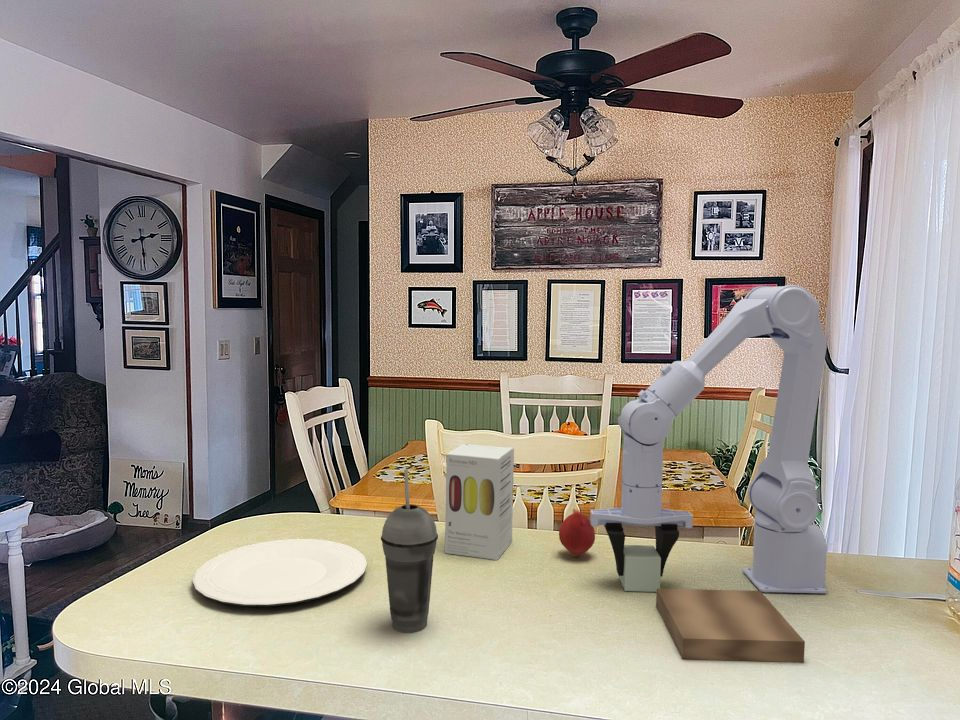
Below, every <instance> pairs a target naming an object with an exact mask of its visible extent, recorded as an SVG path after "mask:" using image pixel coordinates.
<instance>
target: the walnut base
mask: <svg viewBox="0 0 960 720" xmlns="http://www.w3.org/2000/svg"><path fill="white" fill-rule="evenodd" d="M655 593H656V595H655V596H656V598H655V607H656V609H657V611H658V613H659V615H660V617H661V618H662V621H663V623H664V624H665V625H664V626H666V630H667V631H668V633H669V635H670V637H671V639H672V641H673V643H674V646H675V647H676V649H677V652H678V653H679V655H680V657H681V659H682V660H701V661H702V660H703V661H705V660H706V661H709V660H710V661H747V662H778V663H779V662H781V663H782V662H783V663H784V662H786V663H787V662H788V663H804V662H805V648H806V647H805V645H806V643H805V640H804V638H803V637H802V636H801V635H800V634H799V633H798V632H797V630H796V629H794V628H793V626H792V625H791V624H790V623H789V621H788V620H786V618H785V617H784V616H783V615H782V614H781V613H780V612H779V610H778V609H777V608H776V607H775V606H774V604H772V603H771V601H770V600H769V599H768V598H767V597H766V596H765V595H764V592H762V591H760V590H744V589H743V590H742V589H741V590H739V589H738V590H735V589H693V588H692V589H691V588H687V589H686V588H660V589H657V592H655Z"/></svg>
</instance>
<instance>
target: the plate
mask: <svg viewBox="0 0 960 720" xmlns="http://www.w3.org/2000/svg"><path fill="white" fill-rule="evenodd" d="M367 567H368V562H367V559H366V556H365V555H364V554H363V553H361V552H360V551H359V550H358V549H356V548H354V547H351V546H350V545H347V544H344V543H340V542H336V541H332V540H325V539H315V538H288V539H277V540H276V539H275V540H269V541H262V542H256V543H252V544H249V545H248V544H247V545H244V546H241V547H240V546H239V547H237V548H234V549H230V550H228V551H226V552H222V553H221V554H218V555H216V556H215V557H212V558H211V559H209V560H207V561H206V562H204V563H203V564H202V565H200V567H198V569H197V570H196V571H194V575H193V577H192V581H191V582H192V585H193V586H194V589H195V591H196V592H197V593H199V594H201V595H202V596H203V597H204V598H206V599H209V600H212V601H216V602H218V603H220V604H227V605H234V606H239V607H240V606H241V607H276V606H277V607H278V606H284V605H295V604H299V603H304V602H308V601H313V600H318V599H321V598H324V597H327V596H329V595H333V594H336V593H339V592H341V591H342V590H344V589H346V588H347V587H349V586H352V585H353V584H355V583H356V582H357V581H358V580H359V579H360V578H362V576H363V575H364V574H365V571H366V569H367Z"/></svg>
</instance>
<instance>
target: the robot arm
mask: <svg viewBox="0 0 960 720" xmlns="http://www.w3.org/2000/svg"><path fill="white" fill-rule="evenodd" d="M820 307H821V304H820V302H819V301H818V300H817V299H816V298H815V297H814V295H812V293H810V292H809V291H808V290H807V288H804V287H803V286H801V285H797V284H787V285H784V286H783V285H782V286H781V285H780V286H769V285H768V286H767V285H766V286H765V285H760V286H756V287H754V288H752V289H751V290H749V292H747V294H746V295H745V297H744V298H742V299H740V300H738V301H737V302H736V303H735V304H734V306H733V307H732V308H731V310H730V311H729V313H728V314H727V315H726V316H725V317H724V318H723V319H722V321H721V322H720V323H719V324H718V325H717V326H716V327H715V329H714V330H713V331H712V332H711V333H710V334H709V335H708V337H706V339H704V341H703V342H702V343H701V344H700V345H699V346H698V347H697V348H696V350H695V351H694V352H693V353H692V354H691V355H690V357H688V359H687V360H676V361H675V360H674V361H673V362H672V363H671V364H668V363H666V364H664V365H662V366H661V368H660V369H659V370H660V372H661V374H660V375H659V376H658V377H657V378H656V379H655V380H654V382H652V383H651V384H650V385H649V386H648V387H647V388H646V389H645V390H644V389H641V390H640V391H639V392H638V393H637V396H638V397H639V398H637V399H634V400H631V401H628V402H627V403H626V404H625V405H624V406H623V407H622V410H621V411H620V413H621V414H620V416H618V417H617V422H618V427H619V428H620V430H621V431H622V432H623V440H622V441H623V442H622V443H623V447H622V448H623V449H622V454H621V455H622V456H621V457H622V463H621V501H620V503H621V507H613V508H611V507H610V508H603V509H601V508H600V509H590V511H589V513H590V514H589V515H590V516H589V518H590V519H589V520H590V523H591V526H593V527H599V526H604V529H605V531H606V534H607V536H608V538H609V540H610V541H609V542H610V545H611V547H612V551H613V554H614V555H613V556H614V559H615V568H616V573H617V575H618V577H619V576H623V574H624V557H623V555H624V545H625V543H626V542H625V541H626V534H625V533H624V527H623V526H631V527H632V526H635V527H637V526H638V527H654V530H655V531H654V532H655V533H654V534H655V549H656V551H657V552H658V554H659V556H660V557H661V572H660V578H661V577H662V578H663V576H664V570H665V567H666V563H667V561H668V558H669V555H670V552H671V551H672V549H673V547H674V546H675V544H676V543H677V541H678V540H679V538H680V530H679V529H678V527H681V528H685V529H693V522H694V521H693V520H694V518H693V517H694V516H693V514H692V513H691V512H690V511H688V510H686V511H685V510H674V509H665V508H662V503H663V502H662V501H663V499H662V497H663V495H662V494H663V467H664V465H663V463H664V451H663V449H664V439H665V438H667V437H668V436H669V434H670V432H671V428H672V421H673V420H675V419H676V418H677V417H678V416H679V415H680V414H681V413H682V412H683V411H684V410H685V409H686V408H687V407H688V406H689V405H690V404H691V403H692V402H693V401H694V400H695V399H696V398H697V396H699V395H700V394H701V393H702V392H703V391H704V389H705V385H706V383H705V381H706V376H707V374H709V373H710V372H711V371H712V370H713V369H714V368H715V367H716V366H718V365H719V364H720V363H721V362H722V361H723V360H724V359H725V358H726V357H728V356H729V355H730V353H732V352H733V351H734V350H735V349H736V348H737V347H738V346H739V345H741V344H742V343H743V342H744V341H745V340H747V339H749V338H753V337H759V336H762V335H763V336H764V335H767V336H769V337H770V339H772V340H773V341H774V343H776V344H777V346H778V347H779V348H780V349H781V350H782V352H783V359H782V365H781V371H780V378H779V382H778V383H779V384H778V389H777V396H776V402H775V403H776V404H775V409H774V416H773V420H772V426H771V427H772V428H771V434H770V440H769V445H768V446H769V447H768V452H767V453H768V454H767V456H766V457H765V458H764V459H762V460H761V462H760V463H759V464H758V465H757V471H756V474H755V476H754V478H753V479H752V480H751V482H750V483H749V486H748V490H747V497H748V501H749V503H750V504H751V506H752V508H754V509H755V513H754V526H753V527H754V528H753V532H754V533H753V550H752V551H753V552H752V567H745V568H744V567H743V568H742V572H743V573H744V575H746V577H747V578H748V579H749V580H750V581H751V582H752V584H754V586H755V587H756V588H757V590H758V591H761V592H762V593H794V594H795V593H796V594H799V593H800V594H804V593H805V594H827V592H828V590H827V589H826V588H825V587H826V583H825V582H826V570H827V569H826V566H827V541H826V538H825V535H824V534H825V533H824V532H823V530H822V529H821V527H820V526H818V525H816V524H813V523H814V522H815V520H816V519H817V516H818V514H819V501H818V500H817V496H816V486H817V481H816V479H815V477H814V475H813V472H812V471H811V469H810V467H809V464H808V463H809V458H810V457H809V456H810V451H811V445H812V439H813V433H814V432H813V431H814V429H815V421H816V415H817V409H818V402H819V397H820V389H821V385H822V379H823V372H824V365H825V360H826V354H827V347H828V343H827V338H826V337H827V336H826V335H825V331H824V329H823V325H822V322H821V318H820V315H819V313H820V309H821V308H820Z"/></svg>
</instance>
